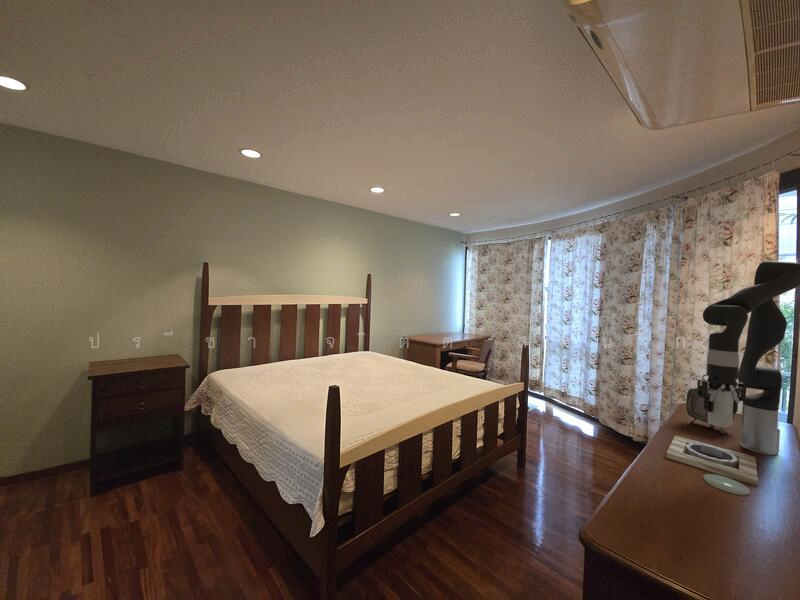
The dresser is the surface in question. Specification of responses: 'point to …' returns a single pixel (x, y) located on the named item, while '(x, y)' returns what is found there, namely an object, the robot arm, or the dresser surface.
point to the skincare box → (721, 409)
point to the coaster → (726, 484)
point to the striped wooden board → (744, 473)
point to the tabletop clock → (698, 407)
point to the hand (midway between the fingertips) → (720, 412)
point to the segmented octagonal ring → (700, 448)
